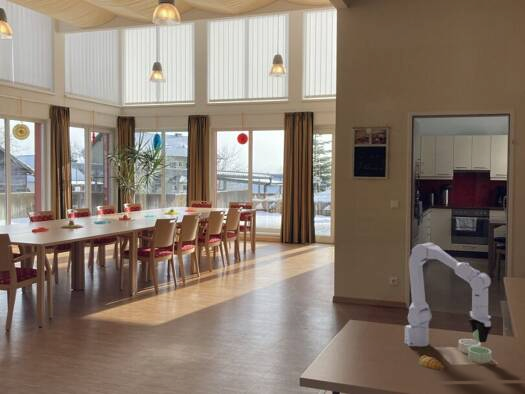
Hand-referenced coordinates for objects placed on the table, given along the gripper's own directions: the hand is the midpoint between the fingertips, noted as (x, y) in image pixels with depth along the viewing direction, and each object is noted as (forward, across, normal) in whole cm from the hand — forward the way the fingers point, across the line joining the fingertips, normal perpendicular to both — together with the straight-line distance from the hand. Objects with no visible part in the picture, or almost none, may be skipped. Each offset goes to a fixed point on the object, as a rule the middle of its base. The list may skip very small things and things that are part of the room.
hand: (479, 339), depth 203 cm
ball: (+1, 0, 0) cm, 1 cm away
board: (+9, +4, +4) cm, 10 cm away
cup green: (+8, 0, 0) cm, 8 cm away
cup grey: (+8, +10, 0) cm, 12 cm away
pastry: (+9, -5, +21) cm, 23 cm away
